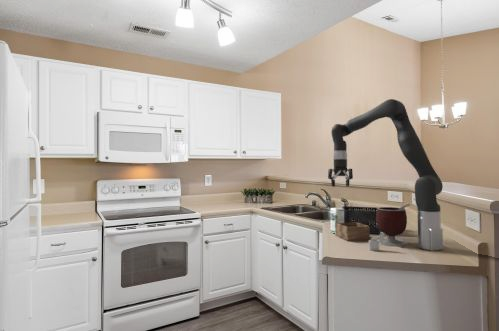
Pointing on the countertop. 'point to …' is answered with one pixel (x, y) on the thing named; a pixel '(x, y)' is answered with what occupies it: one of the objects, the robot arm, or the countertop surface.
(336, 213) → the syrup box
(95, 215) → the countertop surface
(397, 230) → the mate gourd
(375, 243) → the lighter
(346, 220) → the storage bin
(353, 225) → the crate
